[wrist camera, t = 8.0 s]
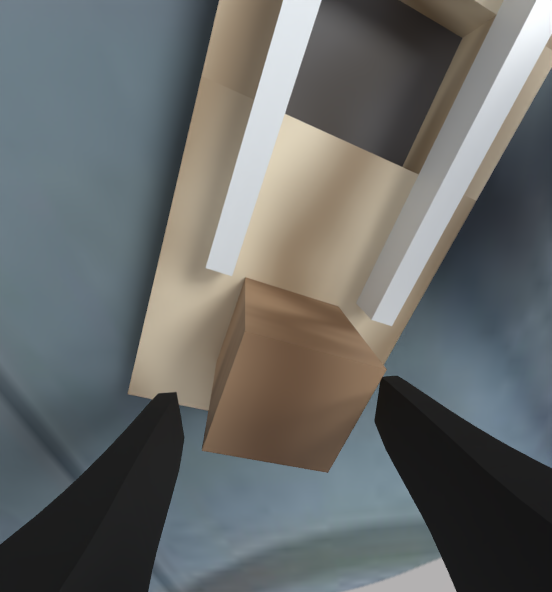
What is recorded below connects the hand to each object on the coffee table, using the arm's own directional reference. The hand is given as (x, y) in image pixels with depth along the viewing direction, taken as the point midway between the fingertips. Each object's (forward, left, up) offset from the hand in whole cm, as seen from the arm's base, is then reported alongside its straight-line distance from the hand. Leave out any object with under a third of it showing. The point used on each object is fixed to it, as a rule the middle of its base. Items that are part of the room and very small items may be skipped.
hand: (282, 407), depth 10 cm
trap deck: (0, -6, -6) cm, 9 cm away
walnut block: (0, -1, -4) cm, 4 cm away
